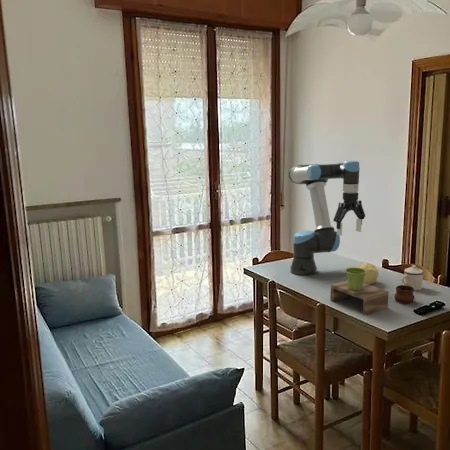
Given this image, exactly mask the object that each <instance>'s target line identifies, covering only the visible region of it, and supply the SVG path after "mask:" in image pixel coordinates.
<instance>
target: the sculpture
mask: <svg viewBox="0 0 450 450" xmlns="http://www.w3.org/2000/svg"><path fill="white" fill-rule="evenodd" d="M356 268H362V269H365V270H366V273H365V276H364V280H363V283H365V284H368V285H373V284H374V283H376V282H377V281H378V278H379V274H380V273H379V269H378V268H377V266H376V265H374V264H373V263H369V262H364V263H361V264H359V265H358V266H356Z"/></svg>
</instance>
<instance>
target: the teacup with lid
mask: <svg viewBox="0 0 450 450" xmlns="http://www.w3.org/2000/svg"><path fill="white" fill-rule="evenodd" d="M403 272H404V274H403V276H402V277H401V284H402V285H406V286H411V287H413V288H414V291H420V290H422V289H423V279H424V278H423V277H424V270H423V269H420V268H418V267H417V266H416V265H415V264H413V265H411V267H407V268H404V271H403Z"/></svg>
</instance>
